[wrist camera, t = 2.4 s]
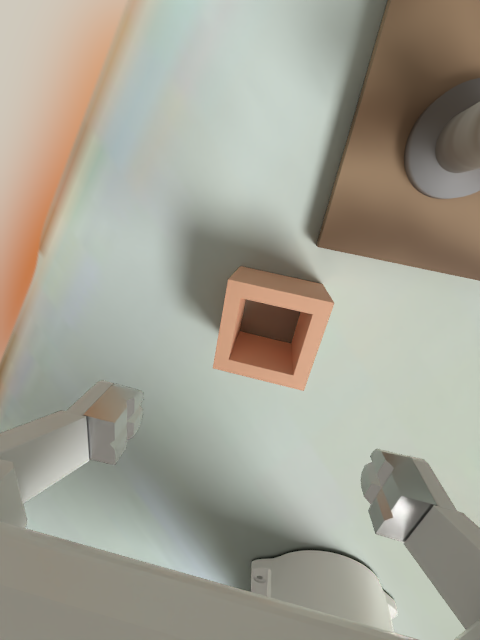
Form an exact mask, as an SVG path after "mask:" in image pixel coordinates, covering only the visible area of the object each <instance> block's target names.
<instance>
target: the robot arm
mask: <svg viewBox="0 0 480 640" xmlns="http://www.w3.org/2000/svg"><path fill="white" fill-rule="evenodd" d="M143 400H144V392H143V391H141V390H138V389H134V388H130V387H127V386H123V385H119V384H114V383H111V382H107V381H104V380H101V381H98V382H97V383H96V384H95V385H94V386H93V387H92V388H90V389H89V390H88V391H87V392H86V393H85V394H84V395H83V396H82V397H81V398H80V399H79V400H77V401H76V402H75V403H74V404H73V405H72V406H71V407H70V408H69V409H68V410H67V411H62V410H61V411H58V412H55V413H53V414H50V415H47V416H45V417H42V418H39V419H37V420H34V421H31V422H29V423H26V424H23V425H20V426H18V427H15V428H12V429H10V430H7V431H4V432H2V433H0V640H418V639H415V638H411V637H408V636H404V635H401V634H397V633H394V629H393V624H392V619H393V618H395V617H396V616H397V615H398V611H397V606H396V602H395V601H394V600H393V599H392V598H391V597H390V596H389V595H388V594H386V593H385V592H384V591H383V589H382V586H381V584H380V581H379V580H378V578H377V577H376V575H375V574H374V573H373V572H372V571H371V570H370V569H368V568H367V567H366V566H364V565H363V564H361V563H359V562H357V561H355V560H353V559H351V558H349V557H346V556H343V555H340V554H336V553H331V552H326V551H316V550H304V551H296V552H291V553H287V554H284V555H282V556H279V557H276V558H272V559H257V560H254V561H252V563H251V592H249V591H246V590H242V589H239V588H235V587H231V586H228V585H224V584H221V583H217V582H214V581H210V580H207V579H203V578H200V577H196V576H193V575H189V574H185V573H182V572H178V571H175V570H171V569H168V568H164V567H161V566H157V565H154V564H150V563H147V562H143V561H139V560H136V559H132V558H129V557H125V556H122V555H118V554H115V553H111V552H108V551H104V550H101V549H97V548H93V547H90V546H86V545H83V544H79V543H76V542H72V541H69V540H65V539H62V538H58V537H55V536H51V535H47V534H44V533H40V532H37V531H33V530H30V529H26V528H25V527H26V526H27V517H26V513H25V508H24V503H25V502H27V501H28V500H30V499H31V498H33V497H35V496H36V495H38V494H39V493H41V492H42V491H44V490H45V489H47V488H48V487H50V486H51V485H53V484H55V483H56V482H58V481H59V480H61V479H62V478H64V477H65V476H67V475H68V474H70V473H71V472H73V471H75V470H76V469H78V468H79V467H81V466H82V465H84V464H85V463H87V462H88V461H89V459H91V460H95V461H99V462H104V463H108V464H112V465H116V463H117V462H118V460H119V458H120V457H121V455H122V454H123V452H124V451H125V449H126V448H127V440H129V439H131V438H132V437H134V435H135V434H136V432H137V431H138V428H139V426H140V424H141V421H142V417H143V409H142V407H141V406H140V404H141V403H142V401H143ZM370 457H371V460H372V462H371V463H369V464H367V465H365V466H364V469H363V471H362V474H361V488H362V492H363V495H364V497H365V498H366V499H367V500H368V502H369V503H370V504H371V505H370V508H369V510H368V511H369V515H370V518H371V521H372V524H373V527H374V531H375V534H377V535H381V536H384V537H388V538H391V539H394V540H398V541H401V542H404V545H405V546H406V548H407V549H408V551H409V552H410V553H411V555H412V556H413V557H414V559H415V560H416V562H417V563H418V564H419V566H420V567H421V569H422V570H423V571H424V573H425V574H426V575H427V577H428V578H429V580H430V581H431V582H432V584H433V585H434V586H435V588H436V589H437V591H438V592H439V593H440V595H441V596H442V597H443V599H444V600H445V602H446V603H447V604H448V606H449V607H450V609H451V610H452V611H453V613H454V614H455V615H456V617H457V618H458V620H459V621H460V622H461V624H462V625H463V626H464V628H465V629H466V630H465V631H464V632H463V633H461V634H460V635H459V636H458V637H456V638H455V639H454V640H480V528H479V527H478V526H477V525H476V524H475V523H474V522H472V521H471V520H470V519H469V518H468V517H467V516H466V515H465V514H464V513H462V512H458V511H457V510H456V508H455V507H454V505H453V503H452V502H451V500H450V498H449V497H448V495H447V493H446V492H445V490H444V488H443V487H442V485H441V484H440V482H439V480H438V479H437V477H436V475H435V474H434V472H433V470H432V469H431V467H430V466H429V464H428V463H427V462H426V461H425V460H424V459H419V458H415V457H411V456H406V455H402V454H397V453H393V452H389V451H385V450H381V449H375V450H374V451H373V452H372V454H371V456H370Z"/></svg>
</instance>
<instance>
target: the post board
mask: <svg viewBox="0 0 480 640" xmlns="http://www.w3.org/2000/svg"><path fill="white" fill-rule="evenodd" d="M316 246H318V247H321V248H326V249H331V250H335V251H340V252H345V253H350V254H355V255H359V256H364V257H369V258H374V259H379V260H383V261H388V262H393V263H398V264H403V265H407V266H412V267H417V268H422V269H427V270H431V271H436V272H441V273H446V274H451V275H455V276H460V277H465V278H470V279H475V280H479V281H480V0H388V1H387V4H386V8H385V11H384V15H383V18H382V22H381V25H380V28H379V32H378V35H377V39H376V42H375V46H374V49H373V52H372V56H371V59H370V63H369V66H368V70H367V73H366V76H365V80H364V83H363V87H362V90H361V93H360V97H359V100H358V104H357V107H356V111H355V114H354V117H353V121H352V124H351V128H350V131H349V135H348V138H347V141H346V145H345V148H344V152H343V155H342V159H341V162H340V165H339V169H338V172H337V176H336V179H335V182H334V186H333V189H332V193H331V196H330V200H329V203H328V206H327V210H326V213H325V217H324V220H323V224H322V227H321V230H320V234H319V237H318V241H317V244H316Z"/></svg>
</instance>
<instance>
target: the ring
mask: <svg viewBox="0 0 480 640" xmlns="http://www.w3.org/2000/svg"><path fill="white" fill-rule="evenodd" d="M246 299H247V300H251V301H256V302H260V303H265V304H269V305H273V306H278V307H282V308H287V309H291V310H295V311H300V315H299V319H298V322H297V325H296V329H295V332H294V335H293V339H292V342H291V343H287V342H283V341H279V340H275V339H271V338H266V337H262V336H258V335H254V334H249V333H245V332H241V331H240V327H241V322H242V317H243V312H244V307H245V302H246ZM333 305H334V302H333V300H332V299H331V297H330V295H329V294H328V292H327V291H326V289H325V287H324V286H323V284H321V283H316V282H311V281H307V280H302V279H298V278H293V277H288V276H284V275H279V274H275V273H270V272H266V271H261V270H256V269H252V268H247V267H243V266H240V267H239V268H238V269H237V270H236V271H235V272H234V273H233V275H232V276H231V277H230V278H229V279H228V283H227V289H226V295H225V300H224V306H223V312H222V318H221V324H220V329H219V335H218V341H217V347H216V353H215V359H214V364H213V368H214V369H218V370H222V371H226V372H230V373H234V374H238V375H242V376H246V377H250V378H254V379H258V380H262V381H266V382H270V383H274V384H278V385H282V386H287V387H291V388H295V389H299V390H303V391H304V389H305V386H306V383H307V380H308V377H309V374H310V371H311V368H312V366H313V363H314V360H315V357H316V354H317V351H318V348H319V346H320V343H321V340H322V337H323V334H324V331H325V328H326V325H327V323H328V320H329V317H330V314H331V311H332V308H333Z"/></svg>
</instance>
